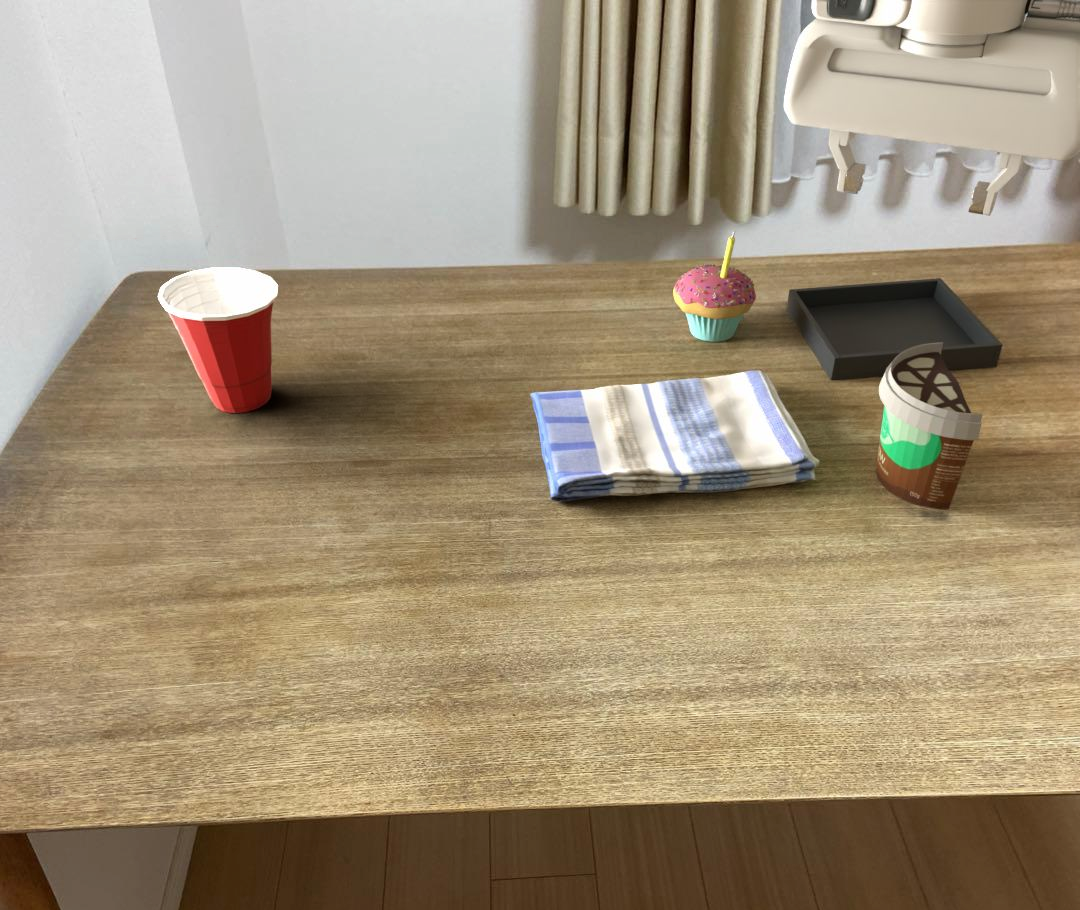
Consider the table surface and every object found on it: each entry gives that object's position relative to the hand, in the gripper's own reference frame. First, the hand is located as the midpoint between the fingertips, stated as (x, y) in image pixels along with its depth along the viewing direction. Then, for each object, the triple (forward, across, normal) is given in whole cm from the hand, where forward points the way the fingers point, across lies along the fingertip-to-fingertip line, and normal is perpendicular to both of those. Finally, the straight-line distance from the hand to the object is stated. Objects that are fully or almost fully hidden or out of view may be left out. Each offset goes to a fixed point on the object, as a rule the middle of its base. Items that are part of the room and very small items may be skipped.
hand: (913, 200), depth 74 cm
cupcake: (+24, +21, -18) cm, 37 cm away
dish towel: (+24, +17, +3) cm, 30 cm away
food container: (+25, -4, -1) cm, 25 cm away
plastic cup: (+24, +57, +15) cm, 64 cm away
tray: (+24, +4, -25) cm, 35 cm away
